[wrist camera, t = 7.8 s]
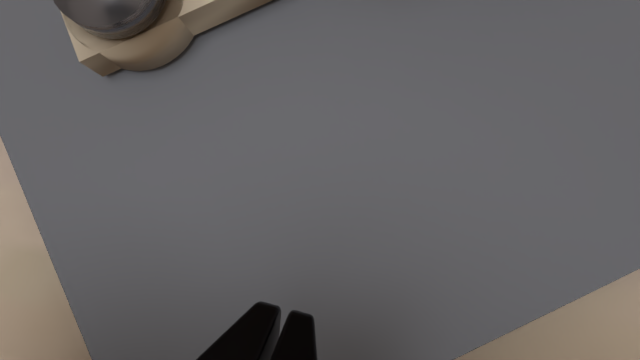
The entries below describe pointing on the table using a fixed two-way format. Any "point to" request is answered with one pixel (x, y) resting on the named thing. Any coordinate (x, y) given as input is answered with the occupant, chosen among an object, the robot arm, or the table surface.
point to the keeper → (111, 15)
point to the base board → (334, 171)
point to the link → (155, 35)
